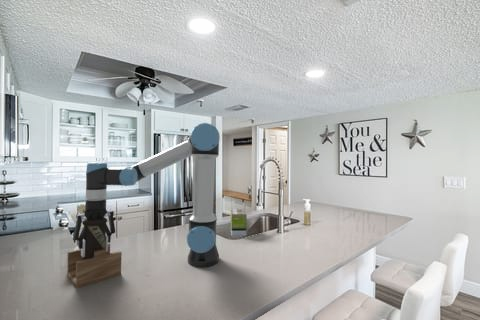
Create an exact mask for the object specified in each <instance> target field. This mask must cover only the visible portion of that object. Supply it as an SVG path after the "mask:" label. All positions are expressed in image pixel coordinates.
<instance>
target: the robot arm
mask: <svg viewBox="0 0 480 320" xmlns="http://www.w3.org/2000/svg"><path fill="white" fill-rule="evenodd" d="M220 138H221V137H220V132H219V130H218V129H217V127H216V126H215V125H213V124H211V123H209V122H208V123H207V122H201V123H198V124H197V125H196V126H195V127H194V128H193V129H192V130H191V134H190V136H189V137H188V138H187V139H186V140H185V141H183V142H181V143H179V144H177V145H174V146H172V147H170V148H168V149H166V150H163V151H162V152H159V153H157V154H155V155H152V156H150V157H148V158H147V159H144V160H141V161H140V162H137V163H136V164H133V165H131V166H126V167H108V163H107V162H88V163H87V164H86V172H85V180H86V181H85V182H86V183H85V184H86V185H85V204H84V206H85V212H84V214H80V213H79V214H76V216H75V219H76V221H77V222H76V221H75V227H74V231H73V236H72V239H73V240H74V241H76V242H77V241H78V242H77V243H78V245H77V246H78V247H79V249H81V256H82V257H85V240H84V237H85V235H86V227H83V229H82V230H81V229H80V228H81V227H82V224H83V223H82V222H83V219H84V217H85V219H88V220H89V221H90V220H93V219H98V218H100V219H104V217H106V215H107V217H108V218H107V219H108V223H109V224H108V225H109V226H108V225H107V223H106V252H107V251H108V243H110V244H111V240H112V239H111V237H112V235H113V234H116V225H115V219H114V215H115V212H114V211H113V210H111V209H110V210H107V199H106V198H107V188H108V187H107V186H122V187H123V186H125V187H128V186H131V187H132V186H134V185H136V183H137V182H140V181H141V180H143V179H145V178H147V177H149V176H151V175H153V174H156V173H157V172H160V171H162V170H164V169H166V168H168V167H170V166H172V165H175V164H178V163H179V162H182V161H183V160H186V159H188V158H190V157H193V158H194V171H193V172H194V176H193V201H192V202H193V203H192V214H191V215H190V217H188V233H187V234H186V235H187V236H186V244H187V245H188V248H190V250H189V252H188V255H187V263H188V264H189V265H190V266H193V267H197V268H198V267H199V268H207V267H212V266H215V265H217V264H218V263H219V262H220V253H219V250H218V247H217V221H218V219H217V214H216V213H214V197H215V196H214V193H215V190H214V189H215V172H216V171H215V170H216V169H215V168H216V167H215V166H216V165H215V164H216V159H217V158H218V157H219V156H220V155H219V151H220ZM80 231H81V232H80Z"/></svg>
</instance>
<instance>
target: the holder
mask: <svg viewBox="0 0 480 320" xmlns="http://www.w3.org/2000/svg"><path fill="white" fill-rule="evenodd" d="M122 252H123V251H121V250H118V251H114V252H111V242H110V243H108V251H107V252H106V249H102V250H97V251H94V257H93V258H89V259H85V260H83V257H82V256H81V249H78V250H74V249H73V250H69V251H67V266H66V269H67V270H66V272H67V273H66V274H67V277H68V278H69V279H70V281H71V283H73V285H74V287H75V288H76V289H78V288H81V287H84V286H88V285H91V284H95V283H98V282H101V281H104V280H107V279H111V278H114V277H117V276H119V275H121V274H122Z"/></svg>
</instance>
